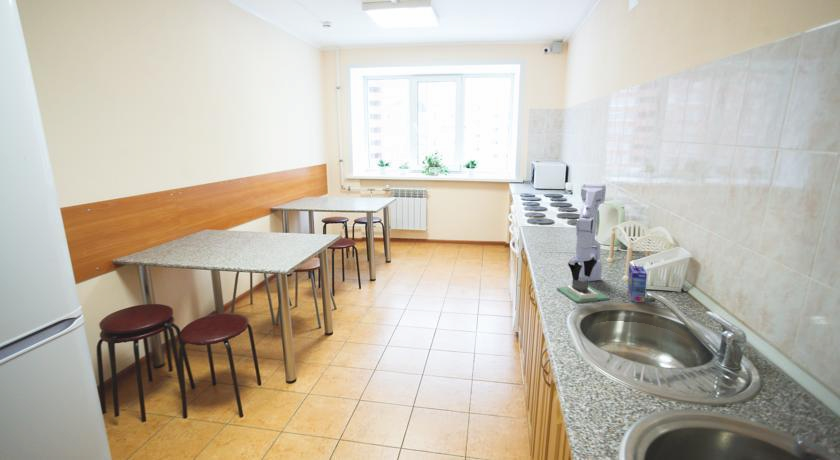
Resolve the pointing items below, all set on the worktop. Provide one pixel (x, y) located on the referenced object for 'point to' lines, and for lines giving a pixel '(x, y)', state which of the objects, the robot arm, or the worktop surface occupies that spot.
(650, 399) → the worktop surface
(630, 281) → the ink cartridge box
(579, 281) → the plug
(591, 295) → the header board
